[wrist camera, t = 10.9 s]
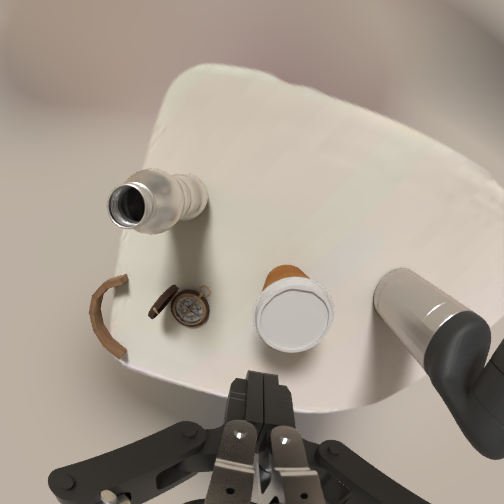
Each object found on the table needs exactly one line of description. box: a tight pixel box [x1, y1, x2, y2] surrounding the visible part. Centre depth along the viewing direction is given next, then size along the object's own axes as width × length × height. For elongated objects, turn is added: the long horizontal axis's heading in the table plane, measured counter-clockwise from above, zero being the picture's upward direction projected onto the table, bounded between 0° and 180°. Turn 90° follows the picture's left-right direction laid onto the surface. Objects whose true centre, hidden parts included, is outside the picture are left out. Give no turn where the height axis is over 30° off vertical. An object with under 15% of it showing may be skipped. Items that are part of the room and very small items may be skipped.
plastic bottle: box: [107, 168, 208, 235], centre depth 30 cm, size 6×7×20 cm
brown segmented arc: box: [89, 274, 128, 359], centre depth 43 cm, size 6×16×2 cm, turn 168°
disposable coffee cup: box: [253, 265, 334, 353], centre depth 37 cm, size 10×10×12 cm
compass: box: [148, 285, 210, 327], centre depth 40 cm, size 8×8×7 cm
